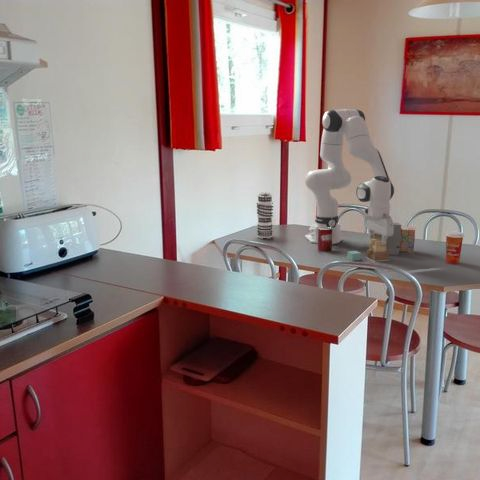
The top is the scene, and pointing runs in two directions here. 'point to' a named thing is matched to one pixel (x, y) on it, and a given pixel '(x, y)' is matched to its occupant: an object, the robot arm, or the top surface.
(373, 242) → the oak cube
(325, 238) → the soda can
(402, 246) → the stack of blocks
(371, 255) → the walnut block
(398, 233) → the skincare box
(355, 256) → the teal cube
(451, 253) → the paper cup
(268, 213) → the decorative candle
